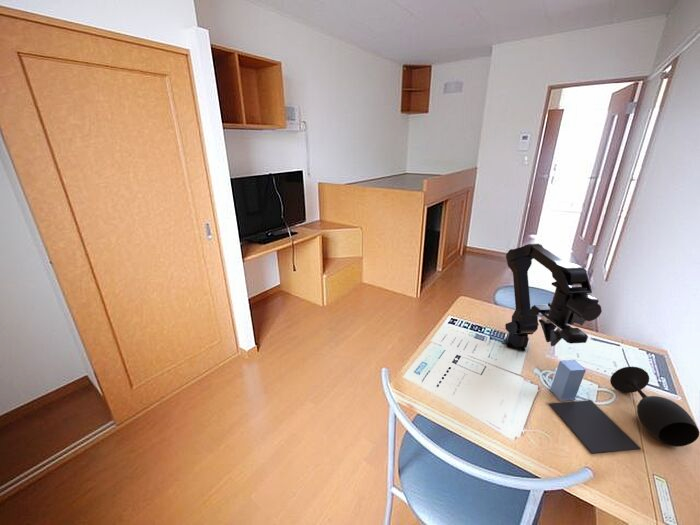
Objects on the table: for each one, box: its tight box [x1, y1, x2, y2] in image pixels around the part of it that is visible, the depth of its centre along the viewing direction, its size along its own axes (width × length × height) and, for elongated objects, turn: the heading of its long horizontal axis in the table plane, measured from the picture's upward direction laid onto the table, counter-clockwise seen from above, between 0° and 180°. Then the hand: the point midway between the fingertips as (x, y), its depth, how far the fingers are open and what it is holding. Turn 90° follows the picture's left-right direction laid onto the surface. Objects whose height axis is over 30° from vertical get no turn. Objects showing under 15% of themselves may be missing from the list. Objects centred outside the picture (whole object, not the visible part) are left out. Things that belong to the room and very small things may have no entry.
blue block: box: [549, 359, 587, 402], centre depth 95 cm, size 4×5×12 cm
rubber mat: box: [548, 399, 641, 454], centre depth 87 cm, size 16×14×1 cm
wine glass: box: [609, 366, 700, 448], centre depth 88 cm, size 10×10×20 cm
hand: (550, 343), depth 103 cm, fingers closed
